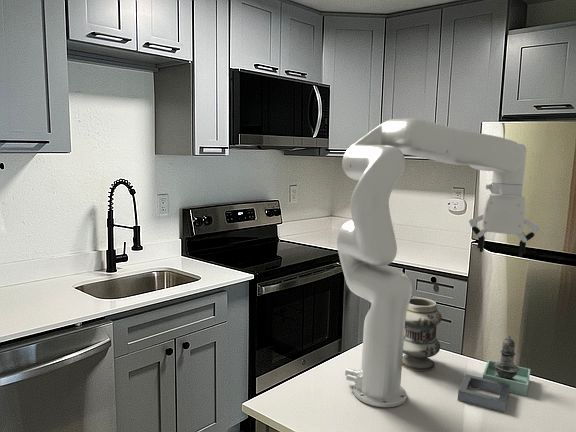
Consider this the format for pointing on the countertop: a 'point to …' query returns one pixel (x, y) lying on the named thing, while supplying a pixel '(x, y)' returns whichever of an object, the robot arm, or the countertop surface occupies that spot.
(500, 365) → the salt shaker
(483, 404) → the grey square frame
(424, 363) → the apothecary jar
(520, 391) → the tray
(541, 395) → the countertop surface
